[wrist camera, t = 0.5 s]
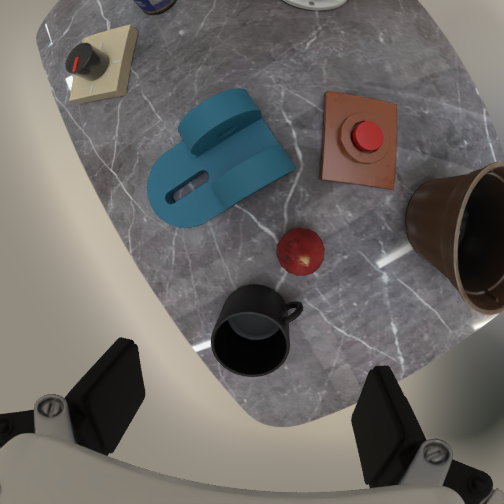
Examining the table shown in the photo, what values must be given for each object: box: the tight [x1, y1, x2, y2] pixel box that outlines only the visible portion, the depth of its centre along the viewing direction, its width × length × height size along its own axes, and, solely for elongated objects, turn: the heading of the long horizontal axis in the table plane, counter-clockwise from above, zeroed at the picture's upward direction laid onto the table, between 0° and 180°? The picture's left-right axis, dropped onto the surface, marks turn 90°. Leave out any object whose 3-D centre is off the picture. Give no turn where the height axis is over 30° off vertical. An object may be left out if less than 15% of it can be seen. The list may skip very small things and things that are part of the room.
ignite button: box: [352, 121, 383, 151], centre depth 30 cm, size 4×4×2 cm
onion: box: [277, 228, 325, 276], centre depth 34 cm, size 6×6×8 cm
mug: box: [211, 285, 303, 377], centre depth 37 cm, size 9×12×9 cm
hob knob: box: [66, 43, 109, 81], centre depth 29 cm, size 5×5×5 cm
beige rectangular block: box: [69, 24, 138, 104], centre depth 32 cm, size 12×10×3 cm
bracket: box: [147, 88, 296, 228], centre depth 32 cm, size 18×10×10 cm, turn 121°
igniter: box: [320, 91, 397, 190], centre depth 32 cm, size 12×10×4 cm
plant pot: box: [406, 161, 504, 315], centre depth 28 cm, size 16×16×16 cm
